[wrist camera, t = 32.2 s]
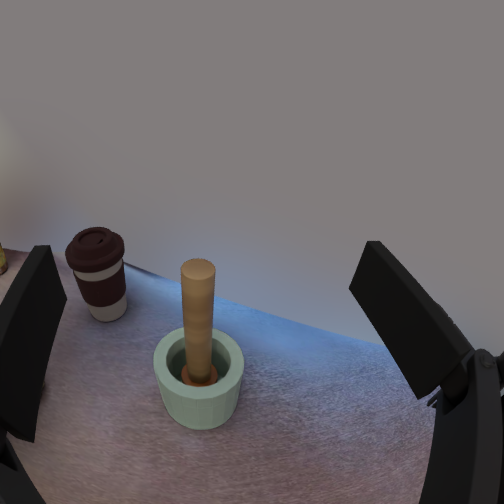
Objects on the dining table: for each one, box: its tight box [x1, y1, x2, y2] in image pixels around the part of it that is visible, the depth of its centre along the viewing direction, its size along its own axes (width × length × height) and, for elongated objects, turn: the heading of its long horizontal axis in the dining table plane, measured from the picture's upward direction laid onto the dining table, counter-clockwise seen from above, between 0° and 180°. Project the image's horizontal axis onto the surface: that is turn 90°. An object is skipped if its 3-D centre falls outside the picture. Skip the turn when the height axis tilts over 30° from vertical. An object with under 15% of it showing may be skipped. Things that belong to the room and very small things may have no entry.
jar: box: [153, 327, 244, 430], centre depth 32 cm, size 10×10×10 cm
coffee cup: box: [65, 227, 127, 322], centre depth 42 cm, size 10×10×15 cm
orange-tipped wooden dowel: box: [181, 259, 218, 387], centre depth 28 cm, size 4×4×22 cm
